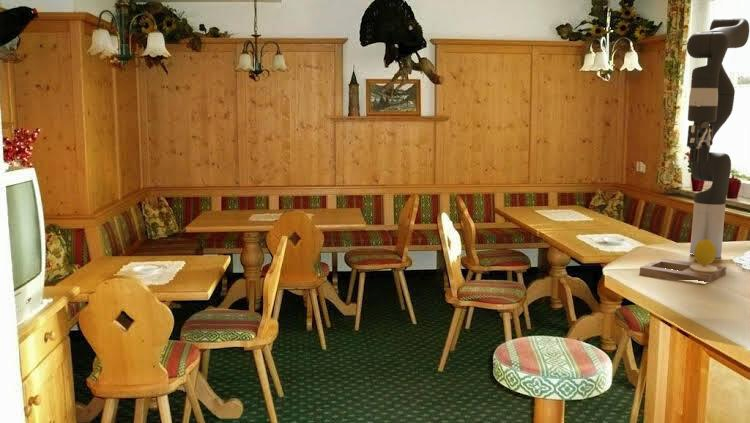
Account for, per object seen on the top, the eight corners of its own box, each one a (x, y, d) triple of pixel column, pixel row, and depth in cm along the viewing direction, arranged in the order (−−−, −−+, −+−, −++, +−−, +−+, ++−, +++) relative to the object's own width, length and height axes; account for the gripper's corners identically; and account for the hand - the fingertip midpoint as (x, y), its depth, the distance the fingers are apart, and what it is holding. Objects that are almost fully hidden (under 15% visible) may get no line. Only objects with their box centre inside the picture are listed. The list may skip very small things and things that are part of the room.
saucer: (694, 265, 216) (695, 262, 216) (720, 269, 212) (720, 266, 212) (686, 269, 211) (686, 266, 211) (712, 273, 206) (712, 270, 206)
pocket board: (663, 264, 227) (663, 257, 227) (725, 273, 215) (726, 267, 215) (639, 274, 214) (640, 267, 213) (704, 285, 202) (705, 277, 202)
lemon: (716, 269, 208) (719, 240, 207) (695, 267, 209) (697, 239, 208) (711, 264, 214) (714, 237, 212) (691, 263, 215) (693, 236, 213)
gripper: (697, 104, 219) (693, 159, 222) (680, 104, 209) (676, 162, 211) (724, 104, 214) (720, 161, 217) (708, 104, 204) (703, 163, 206)
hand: (698, 161), depth 214 cm, fingers open, 8 cm apart
